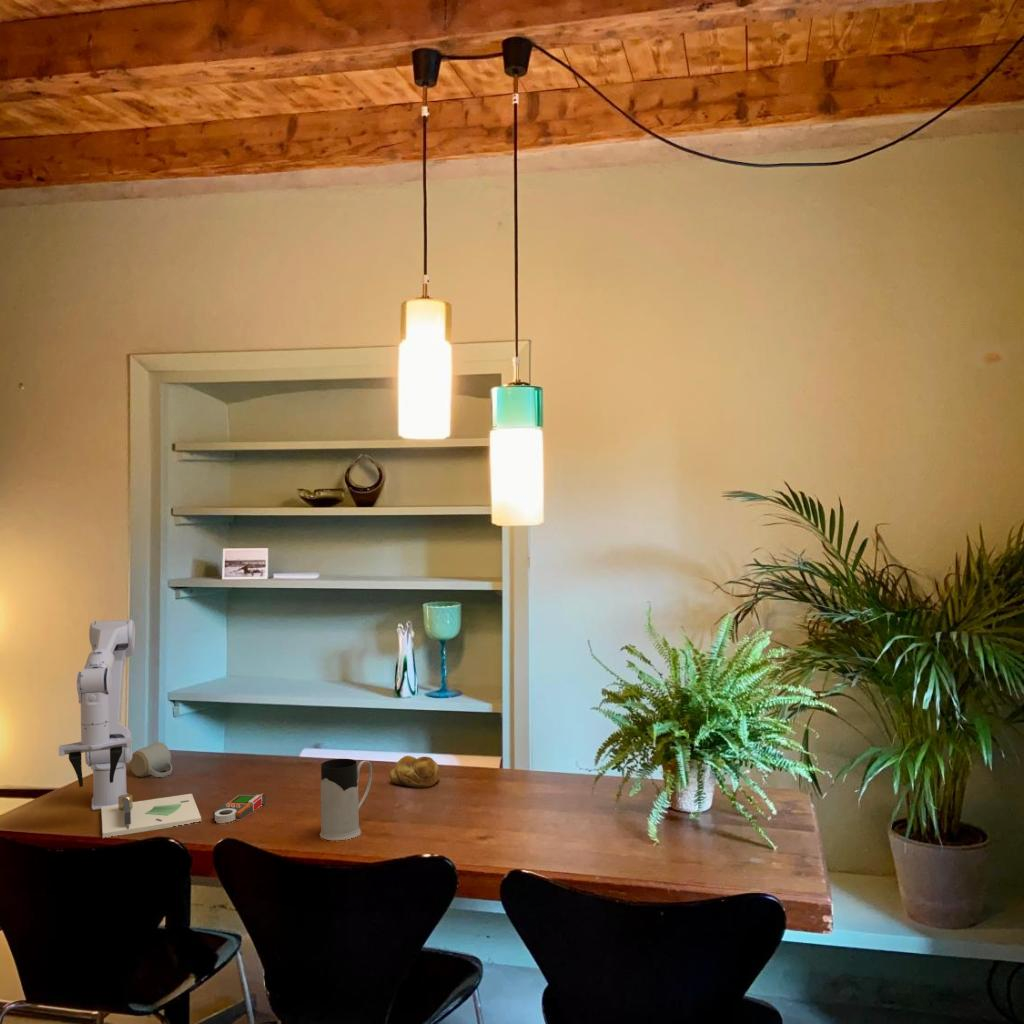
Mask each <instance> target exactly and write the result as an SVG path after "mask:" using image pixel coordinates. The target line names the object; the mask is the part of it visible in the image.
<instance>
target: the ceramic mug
mask: <svg viewBox="0 0 1024 1024" xmlns="http://www.w3.org/2000/svg"><path fill="white" fill-rule="evenodd" d="M129 768H130V771H132V773H133V774H134V775H135V776H136V777H138V776H139V777H138V778H144V776H145V777H148V775H149V776H153V777H155V778H158V777H164V776H167V775H169V776H171V775H170V774H172V773H173V765H172V753H171V751H170V749H169V748H168V746H167V745H166V744H165V743H163V742H161V741H159V742H155V743H152V744H150V745H148V746H145V747H141V748H139V749H137V750H136V751H134V752H133V753H132V760H131V761H130V762H129ZM166 770H169V771H166ZM164 771H165V772H164ZM164 778H165V777H164Z"/></svg>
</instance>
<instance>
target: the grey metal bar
mask: <svg viewBox="0 0 1024 1024" xmlns="http://www.w3.org/2000/svg"><path fill="white" fill-rule="evenodd" d="M133 798H134V797H133V794H130V793H128V794H125V795H121V796H119V797H118V810H120V811H123V815H124V823H125V825H128V824H131V812H130V809H132V808H133V802H134V801H133Z"/></svg>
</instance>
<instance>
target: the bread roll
mask: <svg viewBox="0 0 1024 1024" xmlns="http://www.w3.org/2000/svg"><path fill="white" fill-rule="evenodd" d="M389 779H390V781H391V783H394V784H395V785H398V786H399V785H400V786H407V787H411V788H414V789H415V788H422V789H423V788H429V787H431V786H433V785H435V784H436V783H437V781H439V779H440V766H439V764H438V763H437V762H436V761H435V760H434V759H433V758H432V757H430V756H419V757H418V758H416V757H414V756H412V755H404V756H403V757H401V758H400V759H399V760H398V761H397V762H396V764H395V767H394V768H393V769H391V771H390V772H389Z"/></svg>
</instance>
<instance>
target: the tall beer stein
mask: <svg viewBox="0 0 1024 1024" xmlns="http://www.w3.org/2000/svg"><path fill="white" fill-rule="evenodd" d="M364 763H367V765H368V771H369V773H368V774H369V775H368V781H367V785H366V787H365V792H364V794H363V796H362V798H361V799H360V801H359V785H358V783H359V781H360V771H361V767H362V766H363V764H364ZM320 773H321V774H320V778H321V779H320V818H321V820H320V821H321V822H320V825H321V827H320V828H321V829H320V833H319V835H320V836H321V837H322V838H324V839H327V840H345V839H346V841H348V840H347V839H350V840H352V839H351V838H354V839H356V838H358V837H359V836H360V835H362V830H361V829H360V820H359V819H360V818H359V813H360V812H359V811H360V808H361V807H362V805H363V804H364V801H366V798H367V797H368V794H369V793H370V792H369V791H370V789H371V785H372V780H373V779H372V778H373V765H372V763H371V762H370V761H369V760H362V761H360V762H359V763H358V761H356V760H355V759H351V758H337V759H336V758H334V759H329V760H326V761H324V762H322V763H321V764H320ZM357 836H358V837H357ZM355 837H356V838H355Z"/></svg>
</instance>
